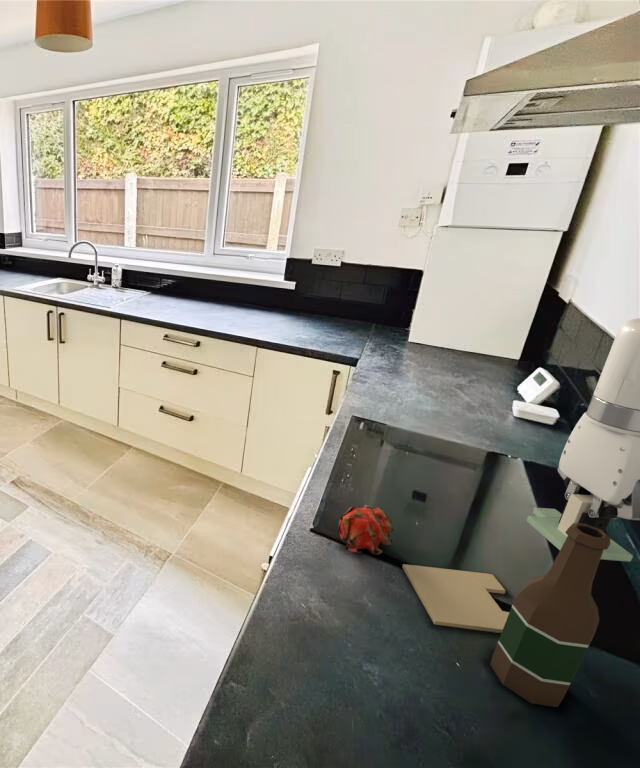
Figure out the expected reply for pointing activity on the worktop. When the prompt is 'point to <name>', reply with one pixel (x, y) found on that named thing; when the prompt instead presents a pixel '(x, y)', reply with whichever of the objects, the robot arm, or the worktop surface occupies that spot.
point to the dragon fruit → (365, 529)
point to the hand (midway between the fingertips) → (579, 531)
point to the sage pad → (558, 538)
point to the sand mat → (458, 597)
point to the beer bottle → (552, 622)
